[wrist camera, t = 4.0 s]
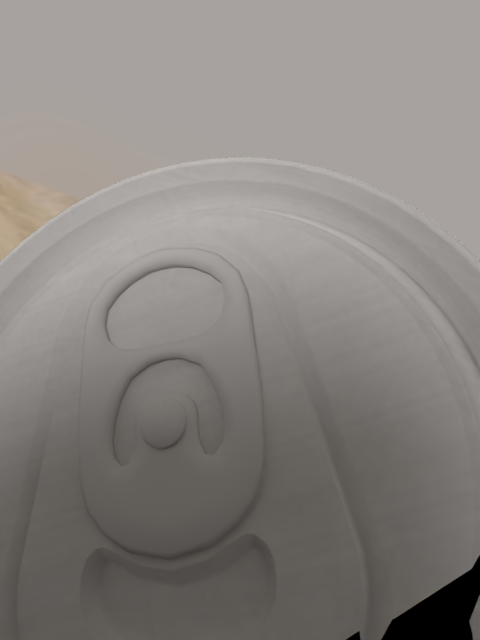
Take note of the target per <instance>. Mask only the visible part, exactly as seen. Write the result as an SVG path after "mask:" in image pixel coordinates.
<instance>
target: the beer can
mask: <svg viewBox="0 0 480 640" xmlns="http://www.w3.org/2000/svg"><path fill="white" fill-rule="evenodd" d="M0 640H480V260H478V258H477V257H476V256H475V255H474V254H473V253H471V251H470V250H468V249H467V248H466V247H465V246H464V245H463V244H462V243H461V242H460V241H459V240H458V239H457V238H455V237H454V236H453V235H451V234H450V233H449V232H447V231H446V230H445V229H443V228H442V227H441V226H440V225H438V224H437V223H436V222H434V221H433V220H432V219H431V218H429V217H428V216H427V215H425V214H423V213H422V212H420V211H418V210H417V209H415V208H414V207H412V206H410V205H409V204H407V203H405V202H404V201H402V200H400V199H399V198H397V197H395V196H394V195H392V194H389V193H387V192H385V191H383V190H381V189H379V188H377V187H375V186H372V185H370V184H368V183H366V182H364V181H362V180H359V179H355V178H353V177H350V176H347V175H344V174H342V173H339V172H335V171H333V170H330V169H325V168H322V167H317V166H313V165H309V164H304V163H300V162H294V161H287V160H279V159H271V158H253V157H251V158H250V157H230V158H214V159H204V160H198V161H191V162H185V163H179V164H175V165H171V166H167V167H163V168H159V169H155V170H151V171H148V172H145V173H142V174H139V175H136V176H134V177H131V178H128V179H125V180H123V181H120V182H118V183H116V184H114V185H111V186H109V187H107V188H104V189H102V190H100V191H98V192H96V193H94V194H92V195H91V196H89V197H87V198H85V199H83V200H81V201H79V202H78V203H76V204H74V205H72V206H71V207H69V208H68V209H66V210H65V211H63V212H62V213H60V214H58V215H57V216H55V217H54V218H52V219H51V220H49V221H48V222H47V223H45V224H44V225H43V226H41V227H40V228H39V229H38V230H36V231H35V232H34V233H32V234H31V235H30V236H28V237H27V238H26V239H25V240H24V241H22V242H21V243H20V244H19V245H18V246H17V247H16V248H15V249H13V250H12V251H11V252H10V253H9V254H8V255H7V256H6V257H4V259H3V260H2V261H1V262H0Z"/></svg>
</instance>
